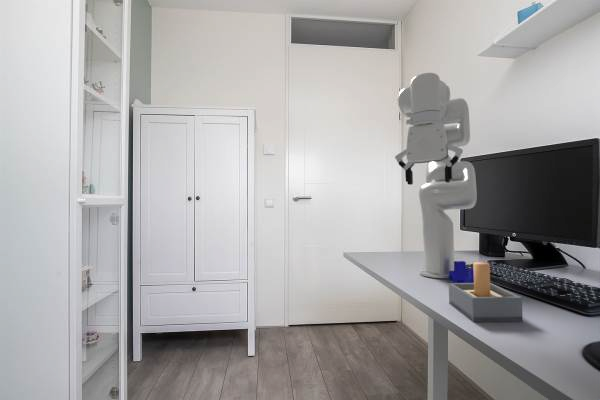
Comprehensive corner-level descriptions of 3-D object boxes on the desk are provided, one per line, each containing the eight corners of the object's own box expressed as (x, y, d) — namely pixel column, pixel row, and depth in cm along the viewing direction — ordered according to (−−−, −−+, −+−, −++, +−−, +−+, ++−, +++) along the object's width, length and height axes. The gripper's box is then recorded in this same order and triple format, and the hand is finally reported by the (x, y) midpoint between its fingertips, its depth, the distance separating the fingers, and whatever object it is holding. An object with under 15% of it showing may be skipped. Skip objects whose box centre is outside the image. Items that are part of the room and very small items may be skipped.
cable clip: (449, 280, 101) (448, 261, 101) (464, 279, 100) (463, 261, 100) (466, 290, 89) (465, 269, 89) (482, 290, 88) (481, 269, 89)
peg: (475, 304, 74) (473, 261, 74) (491, 306, 72) (489, 262, 72) (474, 308, 71) (472, 264, 71) (490, 310, 70) (489, 265, 70)
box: (449, 303, 78) (448, 283, 78) (490, 302, 78) (490, 282, 78) (473, 322, 66) (472, 298, 66) (522, 321, 66) (521, 297, 66)
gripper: (390, 123, 88) (392, 184, 88) (459, 112, 78) (462, 181, 78) (398, 128, 94) (400, 185, 94) (463, 118, 85) (465, 182, 85)
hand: (428, 183), depth 86 cm, fingers open, 9 cm apart
